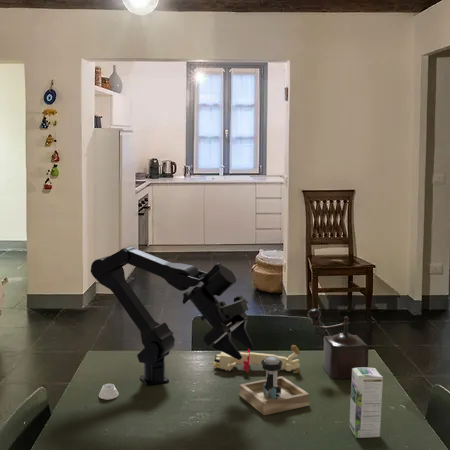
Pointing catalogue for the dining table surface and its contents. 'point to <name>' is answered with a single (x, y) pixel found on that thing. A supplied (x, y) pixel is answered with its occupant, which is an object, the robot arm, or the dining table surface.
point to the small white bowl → (108, 392)
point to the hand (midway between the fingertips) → (246, 353)
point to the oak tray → (268, 405)
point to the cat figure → (256, 360)
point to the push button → (271, 376)
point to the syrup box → (366, 402)
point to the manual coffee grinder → (341, 349)
